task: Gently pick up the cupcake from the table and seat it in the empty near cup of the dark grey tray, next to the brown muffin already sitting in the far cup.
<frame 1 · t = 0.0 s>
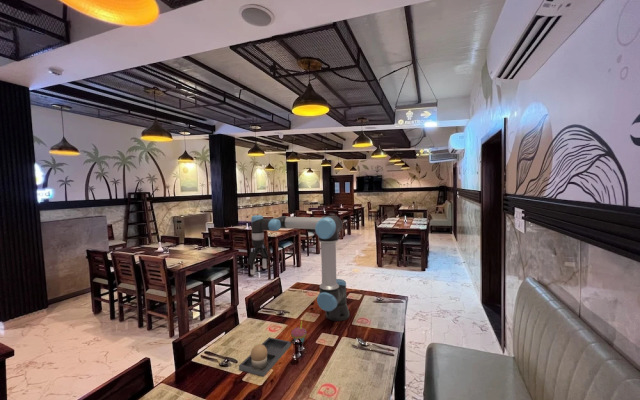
hand: (258, 271, 182), 28 cm above the table, fingers open, 13 cm apart
dark grey tray: (266, 358, 134), on the table
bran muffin: (259, 364, 128), point 1 cm above the table, touching dark grey tray
cupcake: (299, 341, 149), on the table
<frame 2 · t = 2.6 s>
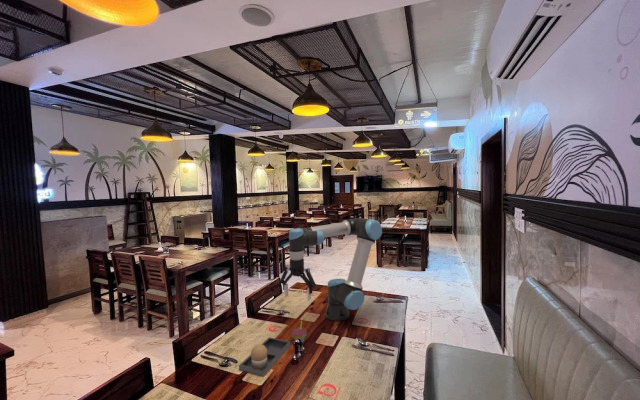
hand: (297, 298, 147), 24 cm above the table, fingers open, 13 cm apart
nothing on the table moved.
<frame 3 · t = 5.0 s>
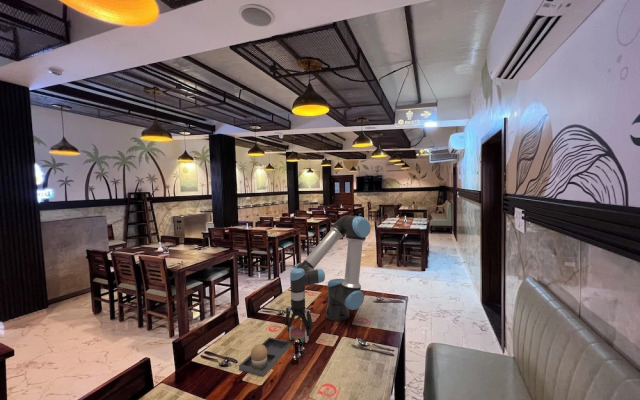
hand: (299, 339, 149), 1 cm above the table, fingers closed on cupcake, 8 cm apart
cupcake: (299, 341, 149), on the table, touching gripper
everything else where it was.
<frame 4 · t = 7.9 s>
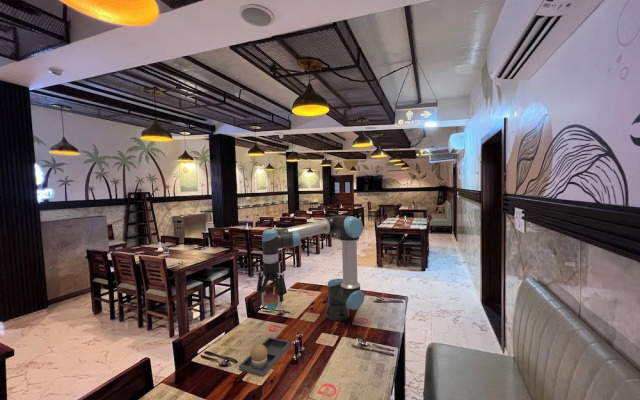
hand: (271, 306, 138), 23 cm above the table, fingers closed on cupcake, 8 cm apart
cupcake: (271, 308, 138), point 22 cm above the table, touching gripper
everything else where it was.
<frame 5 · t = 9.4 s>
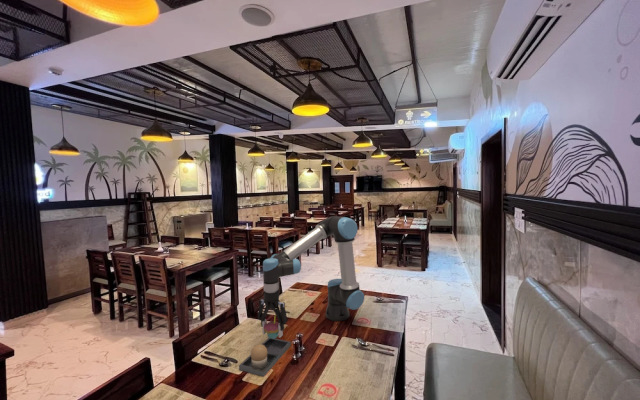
hand: (272, 334, 139), 9 cm above the table, fingers closed on cupcake, 8 cm apart
cupcake: (272, 336, 139), point 8 cm above the table, touching gripper
everything else where it was.
when the fingers open (3 cm above the table, at t = 10.7 s): cupcake drops 1 cm, resting on dark grey tray.
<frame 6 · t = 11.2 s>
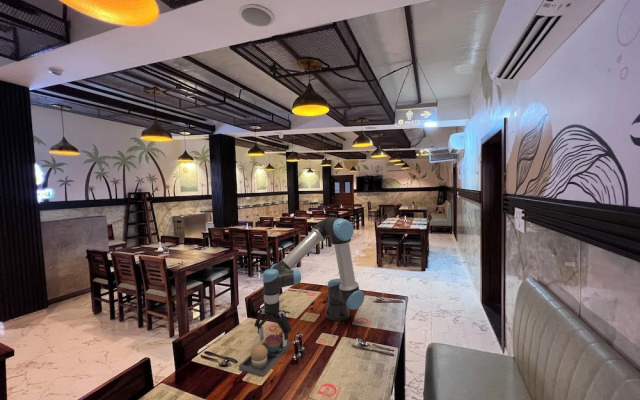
hand: (273, 342, 139), 5 cm above the table, fingers open, 13 cm apart
cupcake: (273, 350, 139), point 1 cm above the table, touching dark grey tray
everything else where it was.
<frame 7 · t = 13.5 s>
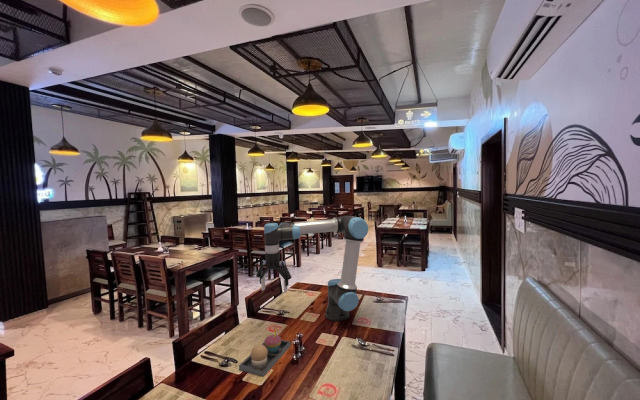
hand: (274, 290, 151), 27 cm above the table, fingers open, 13 cm apart
nothing on the table moved.
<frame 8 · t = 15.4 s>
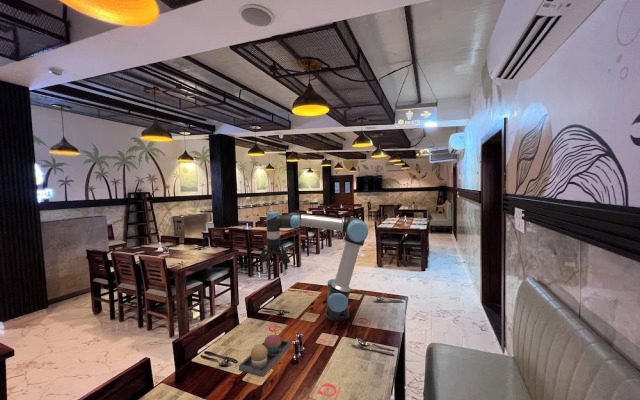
hand: (274, 273, 164), 32 cm above the table, fingers open, 13 cm apart
nothing on the table moved.
at the end: cupcake inside the target area on the dark grey tray (0.0 cm from its centre), point 0.8 cm above the dark grey tray's base; cupcake tilted 0°; the gripper is holding nothing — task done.
